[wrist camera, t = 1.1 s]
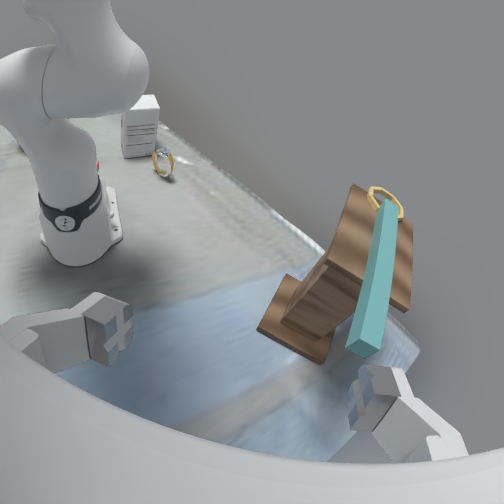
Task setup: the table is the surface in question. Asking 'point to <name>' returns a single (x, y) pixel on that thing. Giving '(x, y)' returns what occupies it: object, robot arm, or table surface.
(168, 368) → the table surface
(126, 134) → the supplement box
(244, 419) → the table surface
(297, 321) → the stand
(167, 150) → the ring
